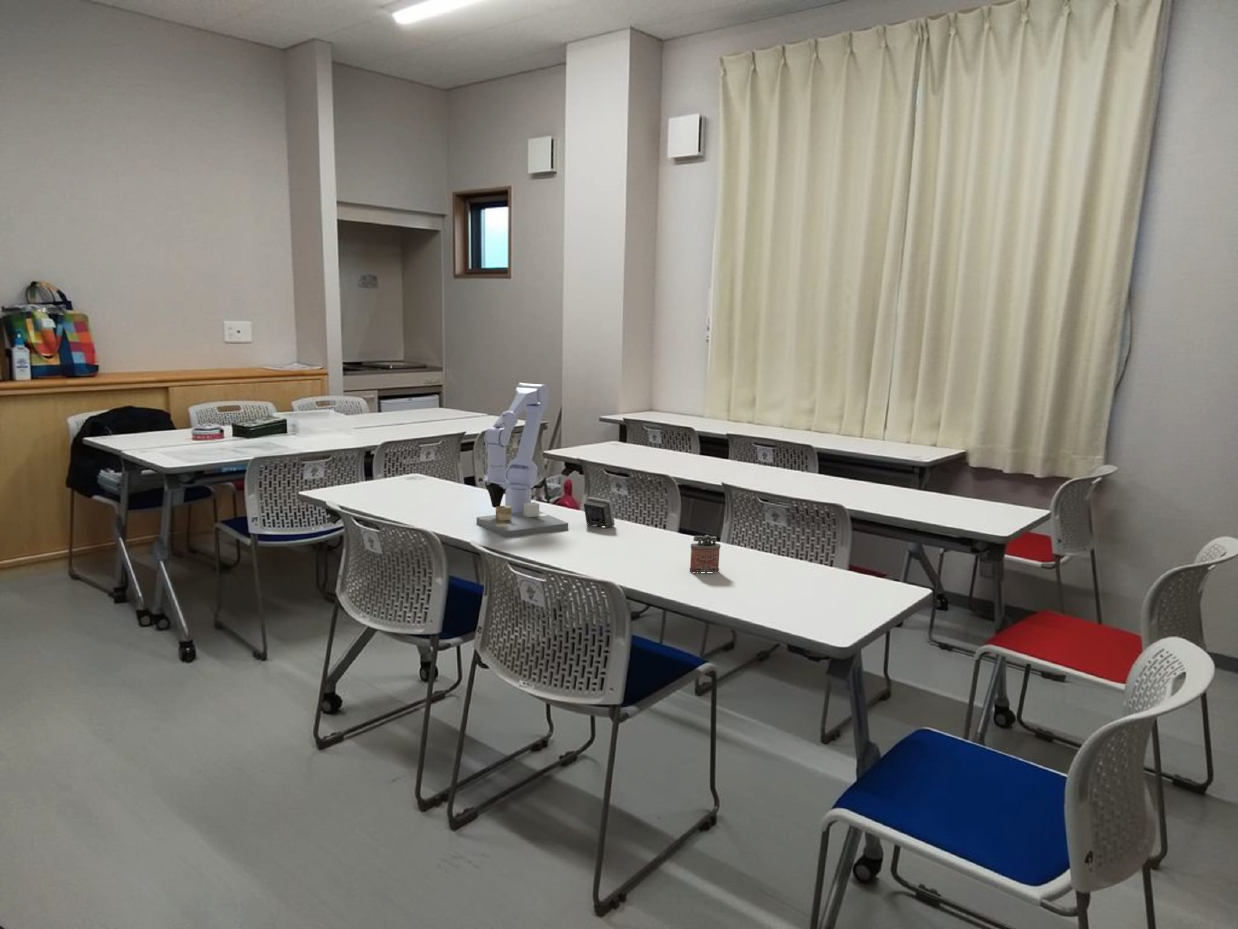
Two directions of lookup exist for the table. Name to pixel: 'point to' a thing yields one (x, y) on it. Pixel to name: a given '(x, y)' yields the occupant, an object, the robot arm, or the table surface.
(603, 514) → the electrical switch
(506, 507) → the wooden block
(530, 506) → the switch white
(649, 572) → the table surface
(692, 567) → the lighter
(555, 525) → the grey base plate
